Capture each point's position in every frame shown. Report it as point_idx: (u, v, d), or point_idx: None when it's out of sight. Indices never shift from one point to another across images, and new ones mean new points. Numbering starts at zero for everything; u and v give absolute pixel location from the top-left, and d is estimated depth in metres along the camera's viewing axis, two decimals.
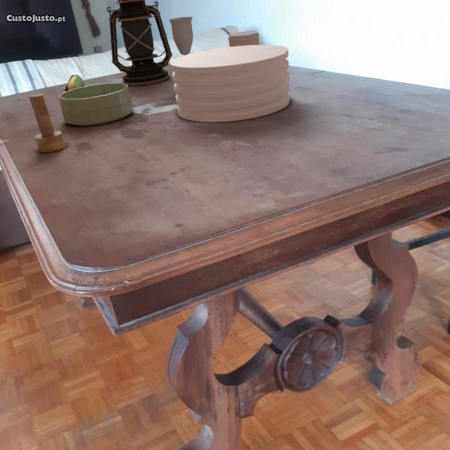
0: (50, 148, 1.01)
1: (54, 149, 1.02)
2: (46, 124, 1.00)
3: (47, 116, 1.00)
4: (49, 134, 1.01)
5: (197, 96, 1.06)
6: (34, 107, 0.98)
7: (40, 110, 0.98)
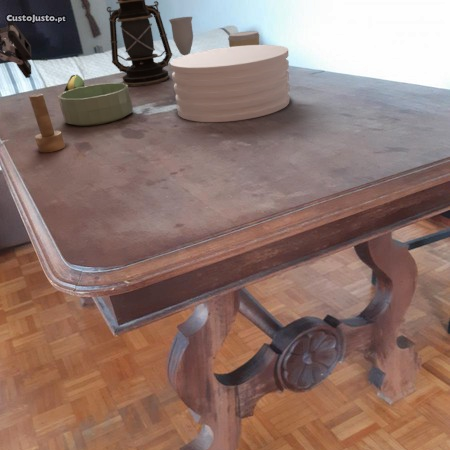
0: (50, 148, 1.01)
1: (54, 149, 1.02)
2: (46, 124, 1.00)
3: (47, 116, 1.00)
4: (49, 134, 1.01)
5: (197, 96, 1.06)
6: (34, 107, 0.98)
7: (40, 110, 0.98)
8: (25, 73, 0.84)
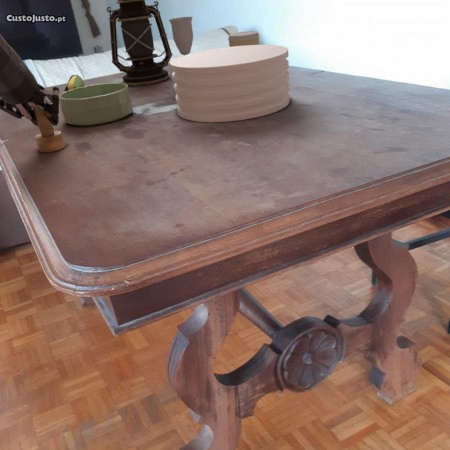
0: (50, 148, 1.01)
1: (54, 149, 1.02)
2: (46, 124, 1.00)
3: None
4: (49, 134, 1.01)
5: (197, 96, 1.06)
6: None
7: None
8: (53, 123, 1.01)
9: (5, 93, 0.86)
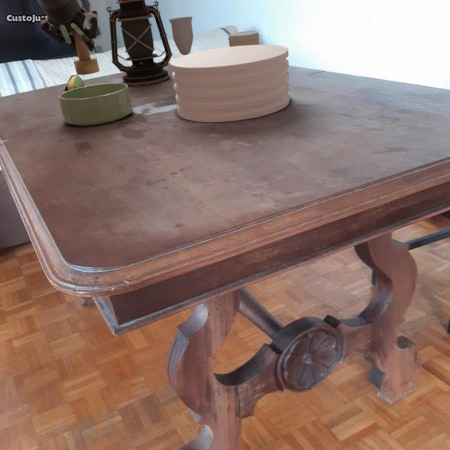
0: (87, 70, 1.14)
1: (90, 72, 1.14)
2: (83, 48, 1.13)
3: None
4: (86, 58, 1.14)
5: (197, 96, 1.06)
6: (74, 32, 1.11)
7: None
8: (90, 48, 1.14)
9: (53, 11, 0.99)
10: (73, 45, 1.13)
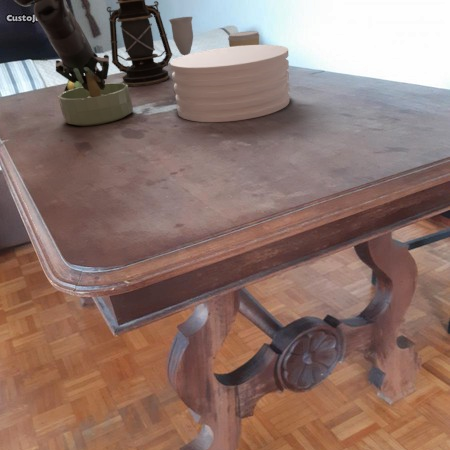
0: None
1: None
2: (95, 88, 1.20)
3: None
4: None
5: (197, 96, 1.06)
6: (86, 73, 1.18)
7: None
8: (101, 87, 1.21)
9: (68, 57, 1.06)
10: (85, 84, 1.20)
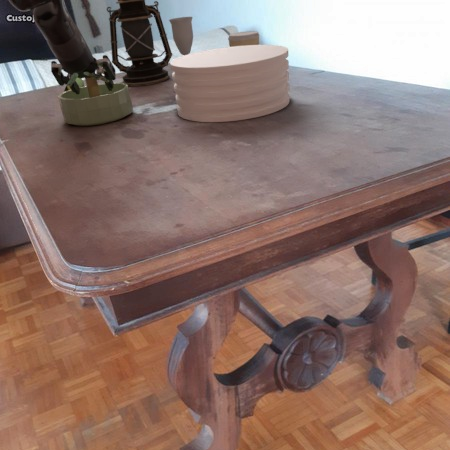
0: None
1: None
2: (96, 93, 1.19)
3: (97, 86, 1.19)
4: None
5: (197, 96, 1.06)
6: (87, 78, 1.17)
7: (92, 81, 1.17)
8: (109, 88, 1.19)
9: (68, 62, 1.05)
10: (73, 87, 1.18)
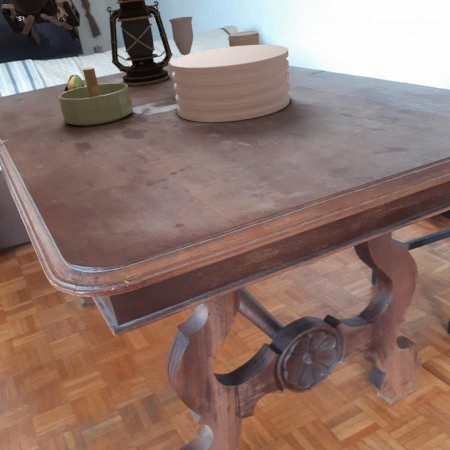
0: None
1: None
2: (96, 93, 1.19)
3: (97, 86, 1.19)
4: None
5: (197, 96, 1.06)
6: (87, 78, 1.17)
7: (92, 81, 1.17)
8: (73, 37, 1.01)
9: None
10: (31, 36, 1.00)
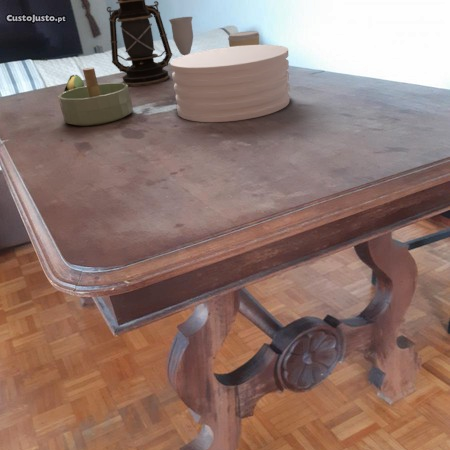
0: None
1: None
2: (96, 93, 1.19)
3: (97, 86, 1.19)
4: None
5: (197, 96, 1.06)
6: (87, 78, 1.17)
7: (92, 81, 1.17)
8: None
9: None
10: None
